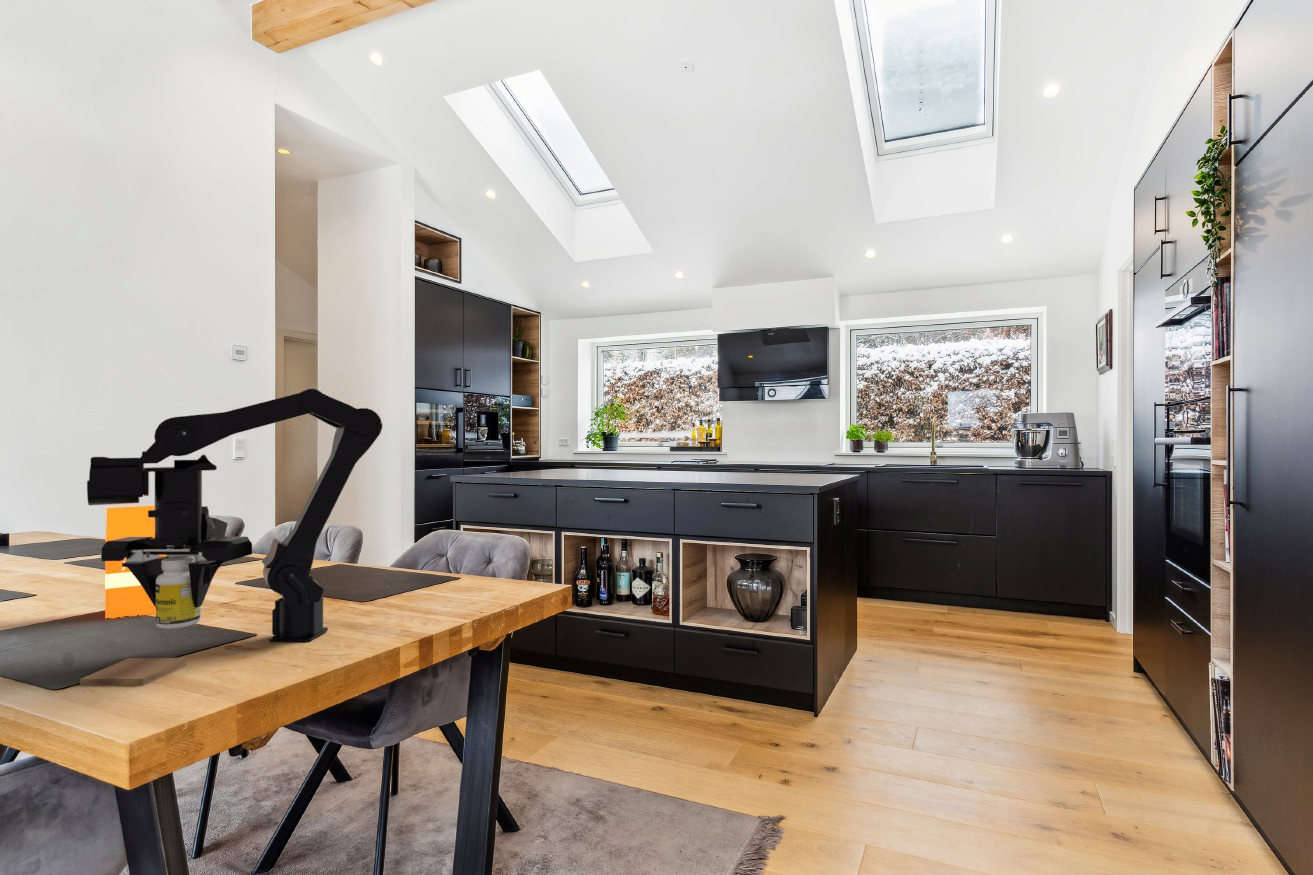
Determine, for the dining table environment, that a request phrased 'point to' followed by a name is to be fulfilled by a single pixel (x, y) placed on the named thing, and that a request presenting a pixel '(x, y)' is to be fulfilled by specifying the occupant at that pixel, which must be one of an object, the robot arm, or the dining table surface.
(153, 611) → the orange juice
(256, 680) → the dining table surface
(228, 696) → the dining table surface
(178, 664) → the walnut slab
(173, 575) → the supplement bottle
